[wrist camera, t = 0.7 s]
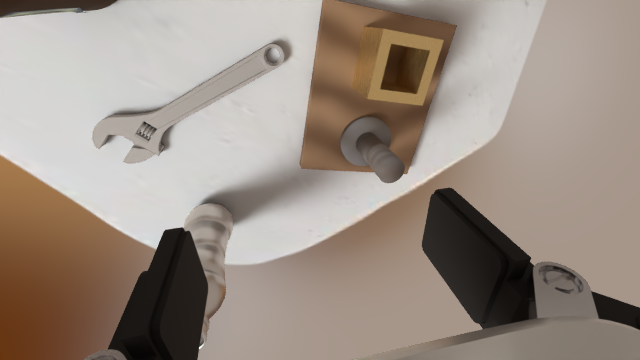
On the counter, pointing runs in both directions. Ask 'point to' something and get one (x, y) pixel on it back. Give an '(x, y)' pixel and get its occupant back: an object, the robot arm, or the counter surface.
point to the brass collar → (412, 68)
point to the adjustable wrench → (181, 107)
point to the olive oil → (49, 6)
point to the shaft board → (353, 108)
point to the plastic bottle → (211, 252)
